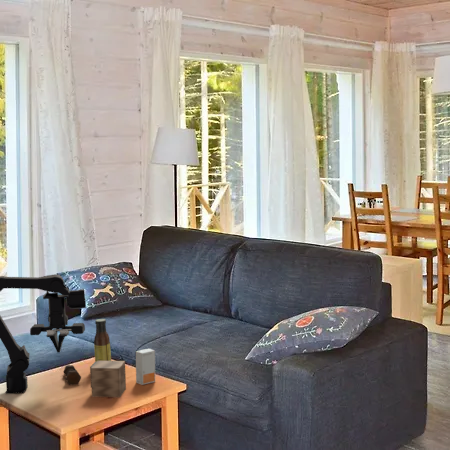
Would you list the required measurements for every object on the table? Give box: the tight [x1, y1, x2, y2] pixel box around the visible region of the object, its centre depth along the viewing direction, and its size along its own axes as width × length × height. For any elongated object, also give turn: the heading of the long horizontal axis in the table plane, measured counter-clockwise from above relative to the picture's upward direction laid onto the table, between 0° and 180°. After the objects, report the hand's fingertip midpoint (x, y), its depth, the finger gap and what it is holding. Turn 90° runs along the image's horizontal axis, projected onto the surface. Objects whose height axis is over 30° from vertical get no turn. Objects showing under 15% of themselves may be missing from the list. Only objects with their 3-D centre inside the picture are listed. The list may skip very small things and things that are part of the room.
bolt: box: [62, 364, 82, 386], centre depth 276 cm, size 6×5×15 cm
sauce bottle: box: [93, 318, 112, 362], centre depth 287 cm, size 7×6×20 cm
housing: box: [89, 360, 127, 398], centre depth 259 cm, size 11×9×10 cm
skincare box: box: [135, 348, 156, 386], centre depth 270 cm, size 6×4×12 cm
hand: (58, 352), depth 265 cm, fingers closed
